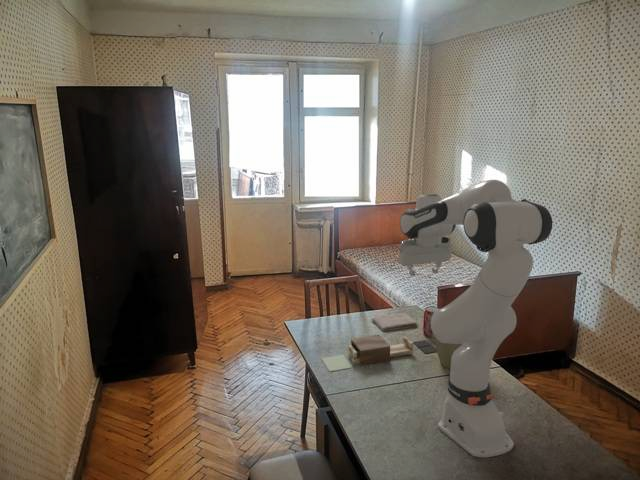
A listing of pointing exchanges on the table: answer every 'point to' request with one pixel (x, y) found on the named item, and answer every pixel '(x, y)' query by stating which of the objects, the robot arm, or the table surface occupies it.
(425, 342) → the plate
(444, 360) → the plant pot
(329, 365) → the pad
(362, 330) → the table surface
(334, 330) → the table surface
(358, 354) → the board
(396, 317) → the washcloth
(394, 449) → the table surface
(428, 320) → the soda can
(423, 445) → the table surface
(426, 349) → the pit pad
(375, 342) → the tunnel
